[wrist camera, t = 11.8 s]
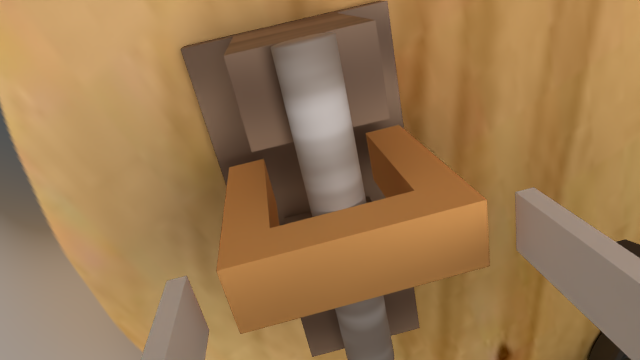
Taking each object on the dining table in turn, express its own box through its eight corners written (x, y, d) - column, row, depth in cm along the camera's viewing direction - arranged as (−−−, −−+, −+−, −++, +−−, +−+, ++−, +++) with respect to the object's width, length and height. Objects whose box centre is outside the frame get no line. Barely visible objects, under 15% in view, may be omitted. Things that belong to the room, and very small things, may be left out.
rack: (410, 224, 32) (492, 343, 21) (256, 264, 32) (257, 408, 21) (380, 0, 26) (476, 3, 15) (184, 46, 25) (129, 85, 14)
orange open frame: (405, 171, 26) (490, 266, 17) (244, 212, 25) (240, 334, 16) (398, 124, 24) (486, 199, 15) (229, 167, 24) (216, 270, 15)
